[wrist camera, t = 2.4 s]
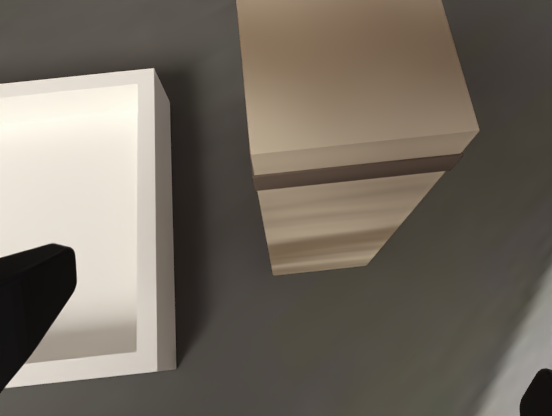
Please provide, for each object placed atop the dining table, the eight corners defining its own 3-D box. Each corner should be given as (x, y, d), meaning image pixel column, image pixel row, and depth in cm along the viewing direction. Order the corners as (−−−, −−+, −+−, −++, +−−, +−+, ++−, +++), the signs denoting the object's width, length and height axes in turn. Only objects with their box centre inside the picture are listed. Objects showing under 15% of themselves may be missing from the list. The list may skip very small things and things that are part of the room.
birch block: (367, 266, 21) (482, 132, 8) (272, 276, 21) (248, 157, 8) (352, 178, 22) (430, -44, 10) (263, 188, 22) (232, -23, 10)
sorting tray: (176, 369, 19) (157, 371, 17) (-136, 403, 19) (-210, 411, 16) (169, 102, 24) (154, 68, 21) (-82, 128, 24) (-132, 97, 21)
